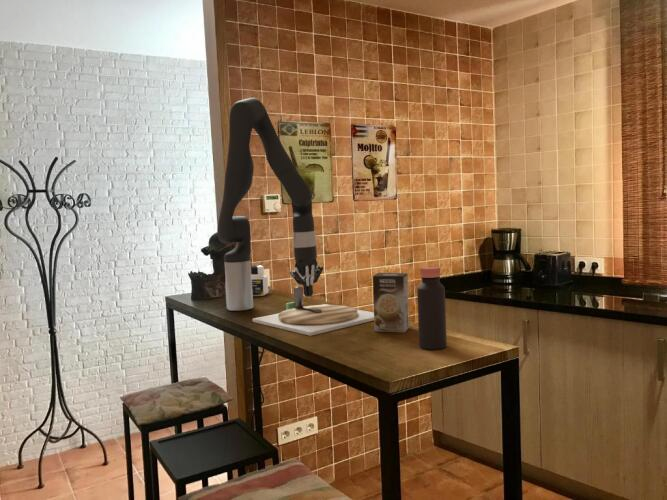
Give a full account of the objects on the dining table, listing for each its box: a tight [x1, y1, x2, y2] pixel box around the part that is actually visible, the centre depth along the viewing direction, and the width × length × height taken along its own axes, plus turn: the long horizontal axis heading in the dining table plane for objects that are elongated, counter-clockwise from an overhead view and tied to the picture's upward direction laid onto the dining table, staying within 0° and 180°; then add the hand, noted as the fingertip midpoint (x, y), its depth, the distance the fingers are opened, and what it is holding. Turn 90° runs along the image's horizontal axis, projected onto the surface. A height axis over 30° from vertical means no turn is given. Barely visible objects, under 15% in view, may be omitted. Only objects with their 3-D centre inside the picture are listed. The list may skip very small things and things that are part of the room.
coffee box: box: [372, 272, 410, 333], centre depth 167 cm, size 9×6×16 cm
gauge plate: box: [252, 301, 374, 337], centre depth 186 cm, size 30×30×4 cm
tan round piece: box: [278, 286, 358, 324], centre depth 185 cm, size 25×25×8 cm
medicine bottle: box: [251, 264, 269, 297], centre depth 240 cm, size 7×7×12 cm
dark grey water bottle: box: [416, 266, 448, 351], centre depth 146 cm, size 7×7×20 cm
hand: (308, 296), depth 197 cm, fingers closed
